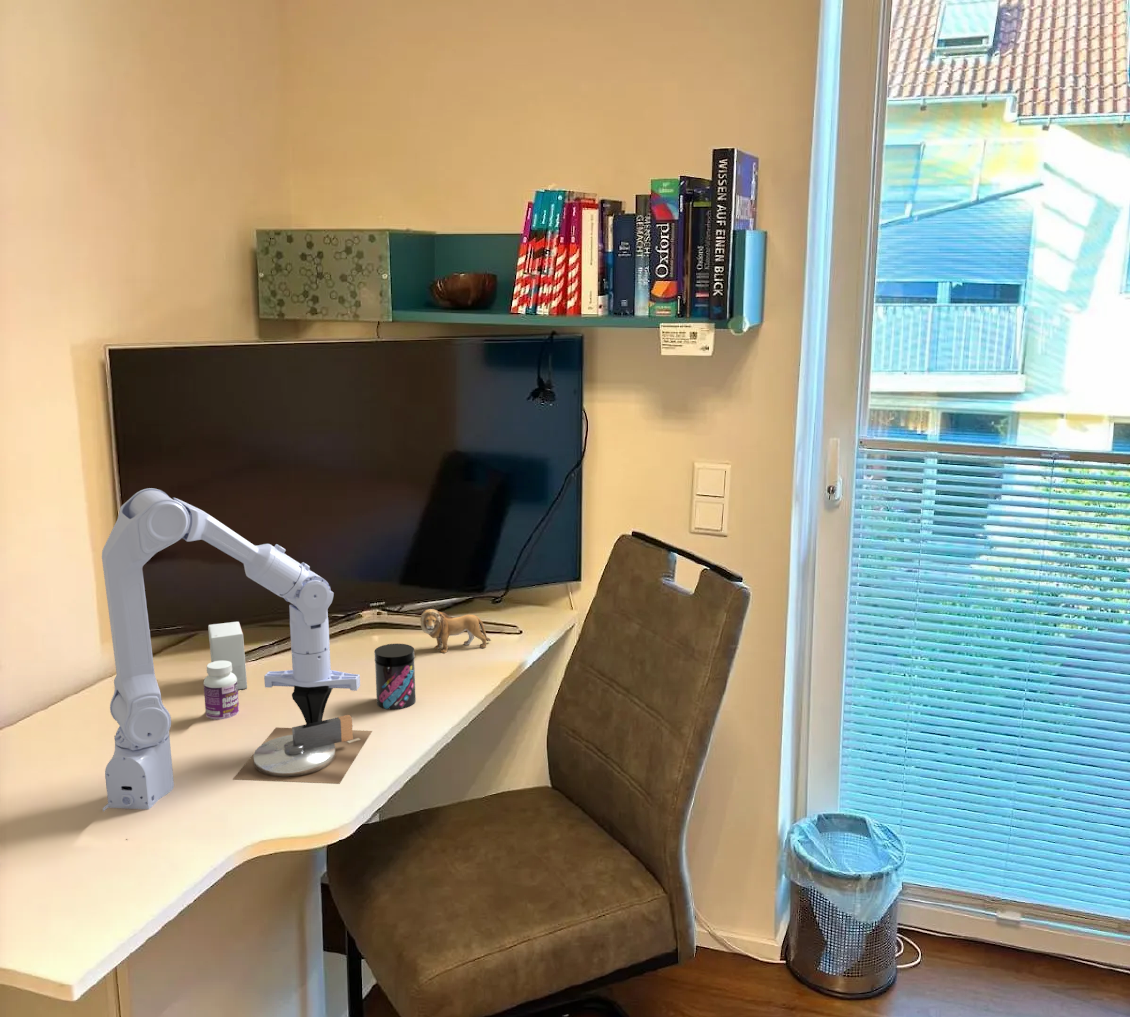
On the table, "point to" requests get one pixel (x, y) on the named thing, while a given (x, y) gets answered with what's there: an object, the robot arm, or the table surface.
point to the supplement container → (395, 676)
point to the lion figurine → (451, 627)
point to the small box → (229, 648)
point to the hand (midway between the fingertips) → (315, 730)
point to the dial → (303, 748)
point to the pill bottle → (221, 691)
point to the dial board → (328, 774)
